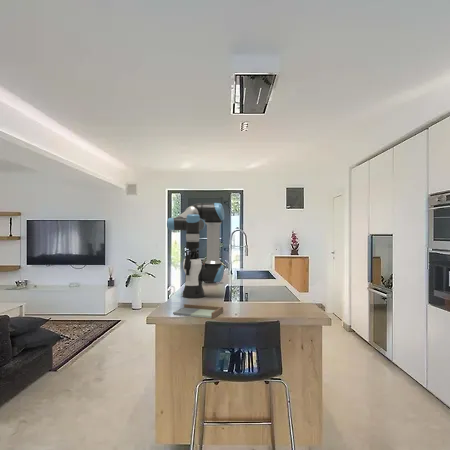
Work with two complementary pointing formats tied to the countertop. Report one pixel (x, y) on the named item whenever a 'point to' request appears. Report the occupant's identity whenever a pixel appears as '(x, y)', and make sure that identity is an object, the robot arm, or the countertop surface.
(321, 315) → the countertop surface
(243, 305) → the countertop surface
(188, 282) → the cup
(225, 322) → the countertop surface
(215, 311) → the rail board
